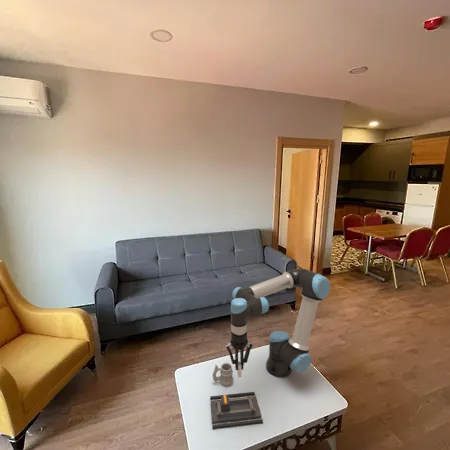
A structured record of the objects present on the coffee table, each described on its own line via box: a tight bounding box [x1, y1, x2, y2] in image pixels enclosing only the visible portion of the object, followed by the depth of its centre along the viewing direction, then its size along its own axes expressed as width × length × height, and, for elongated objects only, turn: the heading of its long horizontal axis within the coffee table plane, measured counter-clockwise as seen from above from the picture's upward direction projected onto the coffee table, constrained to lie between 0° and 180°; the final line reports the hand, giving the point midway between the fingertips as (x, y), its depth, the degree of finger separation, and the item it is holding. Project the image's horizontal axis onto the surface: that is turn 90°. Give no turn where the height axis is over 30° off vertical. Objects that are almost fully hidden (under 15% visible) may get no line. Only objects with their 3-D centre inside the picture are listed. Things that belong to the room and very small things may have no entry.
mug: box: [212, 362, 234, 388], centre depth 147 cm, size 8×12×12 cm, turn 101°
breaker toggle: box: [220, 393, 230, 412], centre depth 129 cm, size 4×5×6 cm
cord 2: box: [211, 418, 264, 430], centre depth 122 cm, size 24×1×1 cm, turn 97°
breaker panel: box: [210, 395, 263, 425], centre depth 130 cm, size 24×12×3 cm, turn 97°
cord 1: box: [209, 391, 256, 401], centre depth 138 cm, size 24×1×1 cm, turn 97°
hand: (239, 375), depth 127 cm, fingers closed
